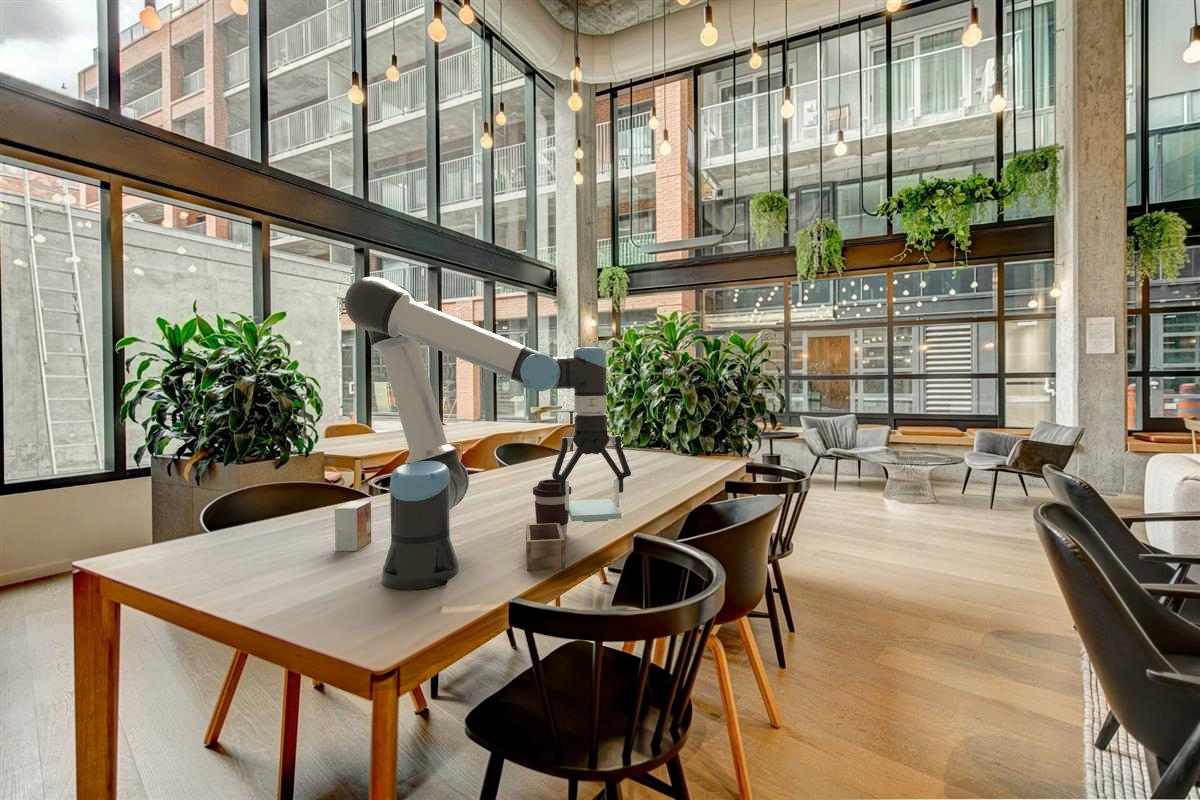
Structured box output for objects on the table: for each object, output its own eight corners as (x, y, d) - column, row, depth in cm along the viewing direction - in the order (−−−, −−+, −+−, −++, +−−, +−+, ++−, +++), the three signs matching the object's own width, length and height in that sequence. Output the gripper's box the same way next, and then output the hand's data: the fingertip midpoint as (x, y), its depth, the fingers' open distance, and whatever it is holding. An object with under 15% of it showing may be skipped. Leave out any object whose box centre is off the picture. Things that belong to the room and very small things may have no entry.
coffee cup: (553, 547, 134) (553, 486, 134) (525, 539, 140) (524, 482, 140) (579, 537, 142) (579, 480, 141) (551, 531, 148) (550, 476, 147)
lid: (572, 524, 119) (571, 515, 119) (565, 508, 134) (565, 500, 134) (621, 522, 121) (621, 513, 120) (609, 506, 135) (609, 498, 135)
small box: (357, 551, 130) (356, 508, 130) (334, 551, 130) (333, 508, 130) (372, 541, 138) (371, 500, 138) (350, 541, 139) (349, 500, 138)
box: (527, 574, 115) (527, 541, 115) (525, 553, 129) (525, 524, 129) (564, 572, 117) (564, 540, 116) (559, 551, 130) (559, 522, 130)
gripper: (540, 416, 121) (542, 514, 122) (643, 413, 124) (644, 508, 125) (539, 414, 128) (541, 506, 129) (636, 412, 132) (637, 501, 133)
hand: (592, 507), depth 127 cm, fingers closed on lid, 11 cm apart
